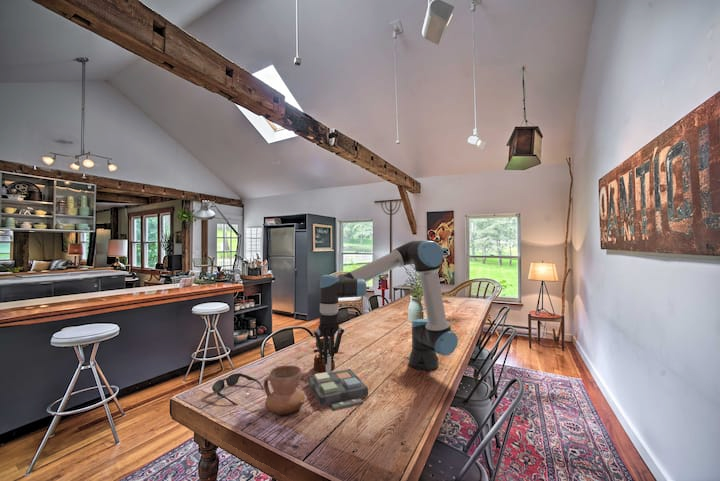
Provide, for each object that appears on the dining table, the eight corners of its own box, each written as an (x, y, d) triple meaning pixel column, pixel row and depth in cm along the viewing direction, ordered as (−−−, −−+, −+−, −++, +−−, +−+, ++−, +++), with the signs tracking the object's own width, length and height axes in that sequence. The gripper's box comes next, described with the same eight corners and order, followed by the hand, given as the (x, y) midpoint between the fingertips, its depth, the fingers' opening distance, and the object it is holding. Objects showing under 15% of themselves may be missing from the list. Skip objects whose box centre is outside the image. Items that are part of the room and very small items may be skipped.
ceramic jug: (314, 403, 117) (314, 366, 117) (292, 423, 103) (292, 382, 104) (277, 395, 124) (276, 360, 124) (252, 413, 110) (251, 374, 111)
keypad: (350, 376, 140) (350, 368, 140) (367, 396, 122) (367, 387, 122) (308, 384, 132) (308, 376, 132) (320, 406, 114) (320, 397, 114)
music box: (322, 376, 140) (320, 333, 142) (307, 372, 147) (304, 331, 149) (344, 365, 152) (341, 326, 154) (328, 362, 159) (326, 324, 160)
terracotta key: (347, 376, 137) (347, 371, 137) (351, 381, 132) (351, 376, 132) (336, 378, 135) (336, 373, 135) (340, 383, 130) (340, 378, 130)
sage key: (333, 386, 124) (333, 381, 124) (337, 392, 119) (337, 387, 119) (320, 389, 122) (320, 384, 122) (324, 395, 117) (324, 390, 117)
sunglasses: (239, 380, 137) (240, 370, 137) (266, 393, 129) (267, 382, 129) (206, 397, 122) (207, 385, 122) (234, 412, 114) (235, 399, 114)
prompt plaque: (359, 399, 119) (359, 397, 119) (362, 403, 117) (362, 400, 117) (331, 405, 115) (331, 403, 115) (333, 409, 112) (333, 407, 112)
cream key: (326, 377, 133) (326, 372, 134) (330, 382, 128) (330, 377, 128) (314, 379, 131) (314, 374, 131) (317, 384, 126) (317, 379, 126)
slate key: (355, 382, 128) (355, 377, 128) (360, 388, 123) (360, 382, 123) (343, 384, 126) (343, 379, 126) (348, 390, 121) (348, 385, 121)
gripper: (341, 310, 127) (340, 365, 127) (311, 312, 122) (310, 370, 122) (347, 313, 120) (346, 372, 120) (315, 316, 115) (314, 377, 115)
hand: (328, 371), depth 121 cm, fingers closed
